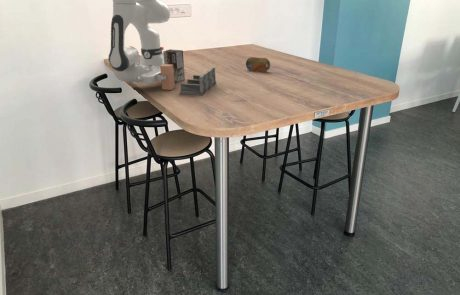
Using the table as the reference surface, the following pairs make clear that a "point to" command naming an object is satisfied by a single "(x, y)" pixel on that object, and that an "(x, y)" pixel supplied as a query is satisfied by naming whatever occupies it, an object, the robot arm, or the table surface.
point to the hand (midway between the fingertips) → (169, 76)
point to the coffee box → (175, 63)
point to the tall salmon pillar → (167, 70)
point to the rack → (199, 83)
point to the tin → (257, 64)
